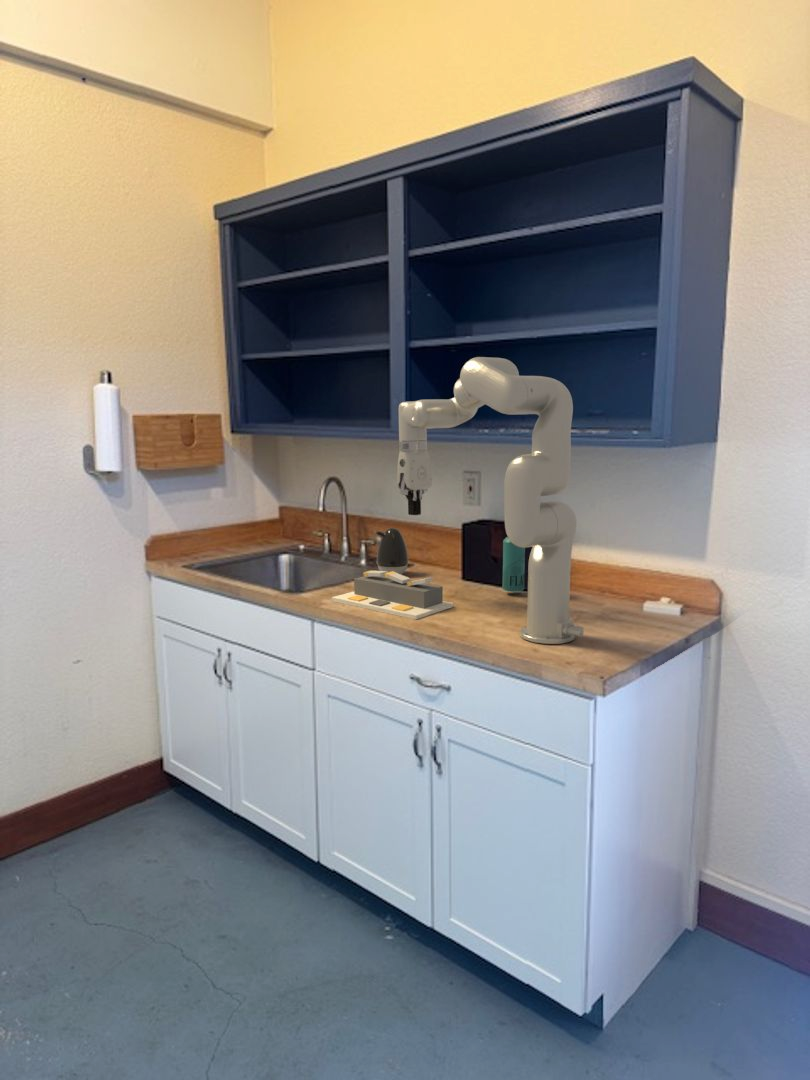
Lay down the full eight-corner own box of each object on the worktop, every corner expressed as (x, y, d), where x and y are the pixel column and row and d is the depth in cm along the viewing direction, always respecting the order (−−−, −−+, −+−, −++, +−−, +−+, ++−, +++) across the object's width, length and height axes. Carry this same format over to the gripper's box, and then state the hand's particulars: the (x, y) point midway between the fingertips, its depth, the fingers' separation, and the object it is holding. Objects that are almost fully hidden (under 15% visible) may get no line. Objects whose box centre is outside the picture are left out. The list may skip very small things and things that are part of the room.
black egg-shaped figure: (372, 572, 246) (371, 526, 243) (402, 570, 249) (402, 524, 246) (381, 579, 236) (380, 531, 234) (412, 576, 240) (412, 529, 237)
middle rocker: (409, 581, 207) (410, 578, 206) (401, 583, 204) (402, 580, 204) (392, 574, 210) (392, 571, 210) (384, 576, 208) (384, 573, 208)
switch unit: (453, 606, 203) (453, 586, 202) (415, 619, 191) (415, 598, 190) (370, 590, 222) (370, 571, 221) (331, 600, 210) (331, 581, 209)
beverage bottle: (507, 597, 212) (508, 527, 209) (498, 592, 219) (499, 523, 215) (528, 596, 214) (530, 526, 211) (518, 590, 220) (520, 522, 217)
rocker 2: (433, 580, 201) (432, 576, 201) (425, 582, 199) (424, 578, 199) (415, 584, 205) (414, 580, 205) (407, 586, 203) (406, 582, 203)
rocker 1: (388, 574, 211) (387, 571, 211) (380, 576, 209) (379, 573, 209) (371, 574, 216) (371, 570, 215) (363, 576, 213) (363, 572, 213)
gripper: (406, 448, 197) (408, 518, 200) (440, 446, 209) (441, 512, 212) (384, 448, 202) (386, 516, 205) (419, 446, 214) (420, 511, 216)
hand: (414, 514), depth 208 cm, fingers closed
